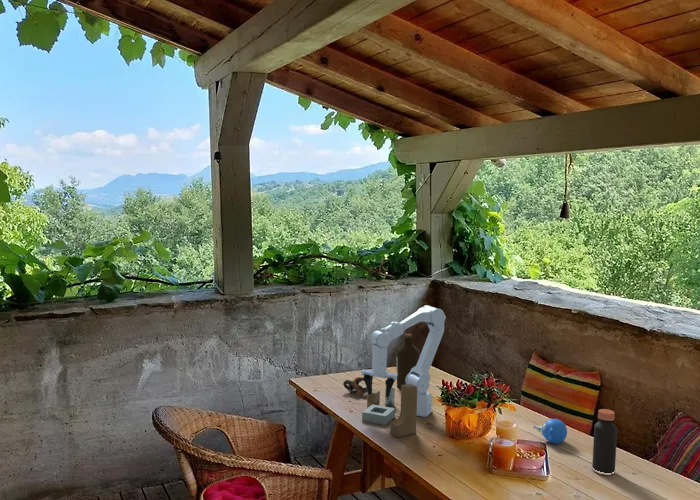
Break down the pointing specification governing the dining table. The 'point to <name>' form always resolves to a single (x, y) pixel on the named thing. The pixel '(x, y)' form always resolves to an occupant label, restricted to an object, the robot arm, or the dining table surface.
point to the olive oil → (406, 359)
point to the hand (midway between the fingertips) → (378, 395)
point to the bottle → (605, 442)
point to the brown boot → (406, 412)
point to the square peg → (373, 398)
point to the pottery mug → (355, 386)
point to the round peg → (390, 398)
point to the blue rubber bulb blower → (553, 430)
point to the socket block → (378, 414)
